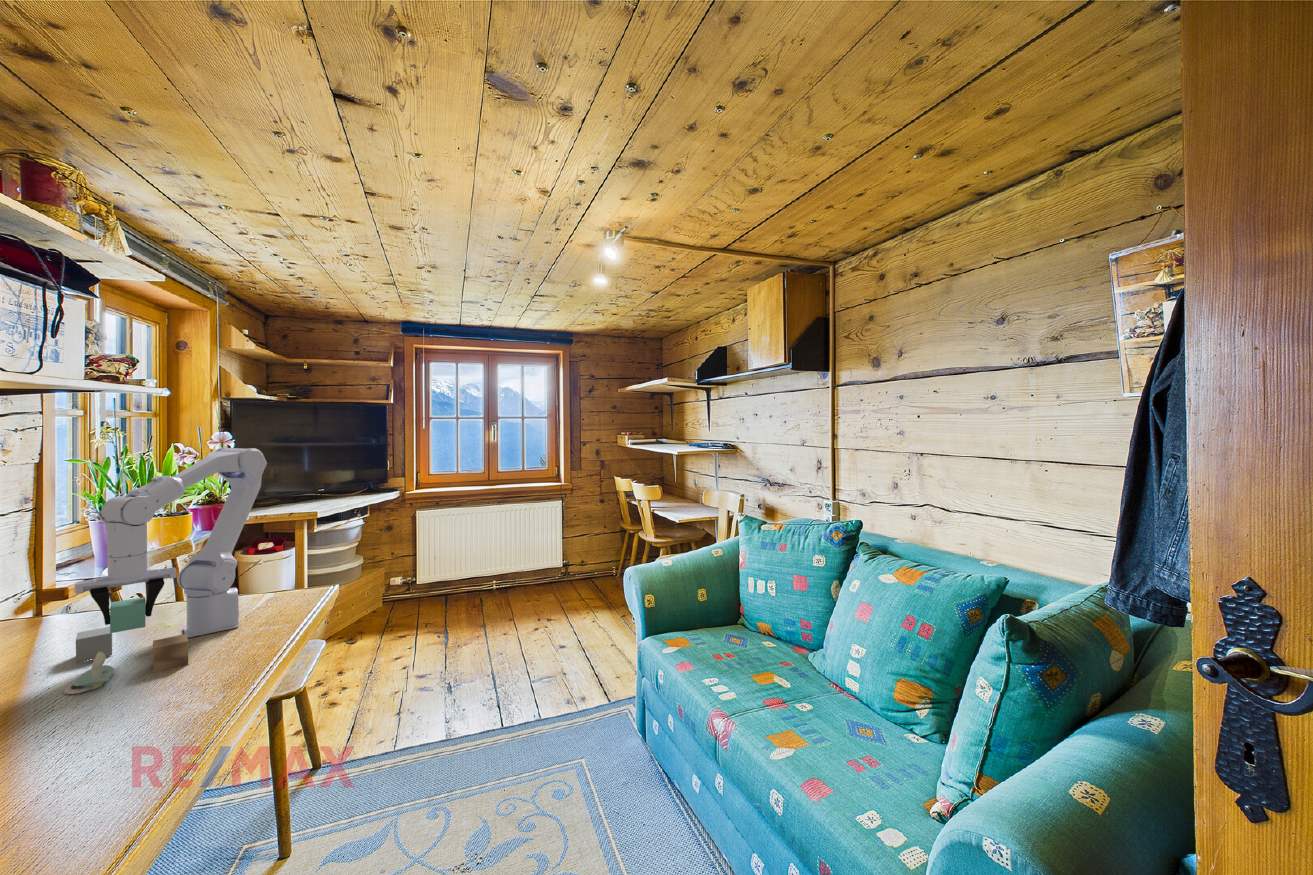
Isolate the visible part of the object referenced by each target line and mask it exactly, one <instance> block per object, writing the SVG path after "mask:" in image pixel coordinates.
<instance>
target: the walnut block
mask: <svg viewBox="0 0 1313 875" xmlns="http://www.w3.org/2000/svg"><path fill="white" fill-rule="evenodd" d="M152 654H153V655H152V665H153V666H152V667H153V674H156V673H160V672H161V673H162V672H164V671H168V669H169V670H172V669H171V668H173V669H177V668H181V667H184V666H189V638H187V635H186V634H185V633H184V634H179V635H174V636H170V637H168V636H167V637H164V638H159V639H155V640H154V639H153V641H152Z"/></svg>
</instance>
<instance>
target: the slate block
mask: <svg viewBox="0 0 1313 875" xmlns="http://www.w3.org/2000/svg"><path fill="white" fill-rule="evenodd" d="M112 647H113V633H110V626H106V627H100V628H96V629H91V630H90V629H89V630H84V631H79V632H77V633H76V638H75V664H76V663H77V664H81V663H85V662H84V661H86V662H88V661H87V660H90V659H95V657H96V655H97V653H98V652H103V653H104V654H105V656H110V655H112V656H113V649H112ZM110 657H111V656H110Z"/></svg>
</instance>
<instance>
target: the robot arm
mask: <svg viewBox="0 0 1313 875" xmlns="http://www.w3.org/2000/svg"><path fill="white" fill-rule="evenodd" d="M267 465H268V462H267V459H266V458H265V455H264V454H263V452H262V451H261V450H260V449H258V448H253V447H252V448H251V447H249V448H238V447H237V448H234V447H233V448H232V447H220V448H218V449H216V450H214V451H210V452H208V454H207V455H206V456H205V457H204V458H201V459H200V460H199V461H197V462H195V463H194V464H192V465H190V466H188V467H187V468H185V469H184V470H181V471H180V472H178V473H177V474H175V475H173V476H170V475H159V476H158V475H156V476H154V477H152V478H151V479H150V480H151V481H150V482H148V483H146V484H144V485H142V486H140V487H138V488H135V489H133V488H132V489H130V490H129V491H127V492H128V493H127V494H126V495H124V496H123V495H122V496H114V497H111V498H110V499H108V500H107V501H106V502H105V503H104V504H103V505H102V507H101V510H100V511H98V512H97V515H98V518H99V519H100V521H101V522H102V523H104V524H105V531H106V534H107V537H106V538H107V542H106V543H107V546H106V547H107V550H106V551H107V552H106V553H107V576H102V577H97V578H92V579H86V580H81V581H76V582H74V594H75V595H77V594H78V595H79V594H83V593H86V592H89V593H90V597H91V598H92V599H93V601H94V602H95V603H96V605H97V607H98V608H99V609H100V612H101V613H102V615H103V619H104V620H103V621H104V625H105V626H107V625H110V592H109V591H110V589H109V588H116V587H122V586H123V587H124V586H128V585H135V584H142V583H145V617H151V616H152V612H153V609H154V606H155V603H156V600H157V598H158V596H159V594H161V593H160V592H161V591H162V589H163V588H164V586H165V580H166V579H175V578H177V584H178V586H179V588H181V589H183V590H184V594H185V595H186V625H185V626H183V632H184V634H186V635H187V638H188V639H189V638H194V637H199V636H203V635H207V634H212V633H217V632H222V631H226V630H231V629H235V628H236V629H237V628H239V627H240V625H239V620H240V618H239V617H240V611H239V593H238V592H239V590H238V588H237V587H231V586H232V585H233V584H234V582H235V578H236V568H237V566H238V560H237V559H236V558H235V557H234V556H233V554H232V553H233V552H234V548H235V546H236V544H237V542H238V540H239V538H240V535H241V533H242V530H243V528H244V526H245V524H246V521H247V519H248V517H249V514H250V513H251V510H252V508H253V506H254V503H255V500H256V499H257V497H258V494H259V492H260V489H261V487H262V476H263V474H264V471H265V469H266V467H267ZM217 473H218V475H220V476H221V477H222V478H223V480H225V481H226V482H227V483H228V484H229V486H230V491H229V493H228V496H226V499H225V502H224V504H223V505H222V509H221V511H220V513H219V514H218V517H217V519H216V521H215V523H214V526H213V528H212V530H211V532H210V535H209V536H208V539H207V541H206V543H205V544H204V547H203V549H201V550H200V551H199V552H197V553H195V554H193V555H192V556H191V557H190V559H189V561H188V563H186V565H185V566H184V567H183V568H182V569H180V572H179V573H178V575H177V568H176V567H168V568H167V567H166V568H159V569H148V522H150V521H151V520H152V519H153V518H154V516H155V514H156V512H157V511H159V510H161V509H162V508H164V507H166V506H167V505H169V504H171V503H173V502H175V501H177V500H178V499H180V498H182V497H183V496H184V494H185V490H186V488H189V487H191V486H193V485H195V484H197V483H199V482H200V481H203V480H205V479H206V478H209V477H211V476H213V475H215V474H217Z"/></svg>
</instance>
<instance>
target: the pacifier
mask: <svg viewBox="0 0 1313 875" xmlns="http://www.w3.org/2000/svg"><path fill="white" fill-rule="evenodd" d="M106 658H107V657H106V656H105V654H104V653H103V652H98V653H97V655H96V657H95V659H94V660H93V662H92V665H91V668H90V669H88V670H86V671H85V672H83V673H82V674H81V675H79V676H78V677H77V678H76V679H75V680H74V681H73V682H71V683H70V684H68V685H67V686H66V687H65V688H64V689H63V691H64V694H67V695H78V694H81V693H84V692H88V691H89V690H95V689H98V688H99V687H102V686H103V685H104V683H105V682H106V681H107V682H108V681H110V680H111V677H112V676H113V674H114V670H115V669H114V668H113V667H112V666H111V665H107V664H106V665H105V662H106ZM75 687H82V688H79V689H73V688H75Z"/></svg>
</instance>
